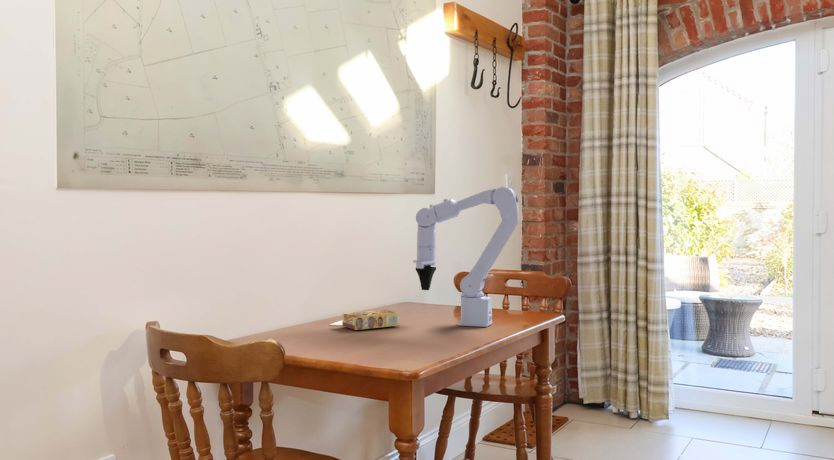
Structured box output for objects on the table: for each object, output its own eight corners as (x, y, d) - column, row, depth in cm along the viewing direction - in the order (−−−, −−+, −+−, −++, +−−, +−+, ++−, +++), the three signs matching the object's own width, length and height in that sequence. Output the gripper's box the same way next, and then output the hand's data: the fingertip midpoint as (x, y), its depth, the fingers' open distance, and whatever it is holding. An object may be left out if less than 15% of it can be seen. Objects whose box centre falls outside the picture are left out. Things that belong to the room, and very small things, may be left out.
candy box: (400, 312, 235) (354, 316, 227) (400, 326, 235) (354, 330, 227) (386, 309, 242) (341, 312, 235) (386, 322, 243) (341, 326, 235)
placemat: (390, 320, 250) (390, 319, 250) (371, 327, 234) (371, 326, 234) (349, 318, 254) (349, 317, 254) (329, 325, 239) (329, 324, 239)
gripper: (420, 245, 251) (419, 286, 251) (407, 247, 237) (406, 291, 237) (441, 245, 249) (440, 287, 249) (429, 248, 235) (428, 292, 235)
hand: (425, 289), depth 243 cm, fingers closed
